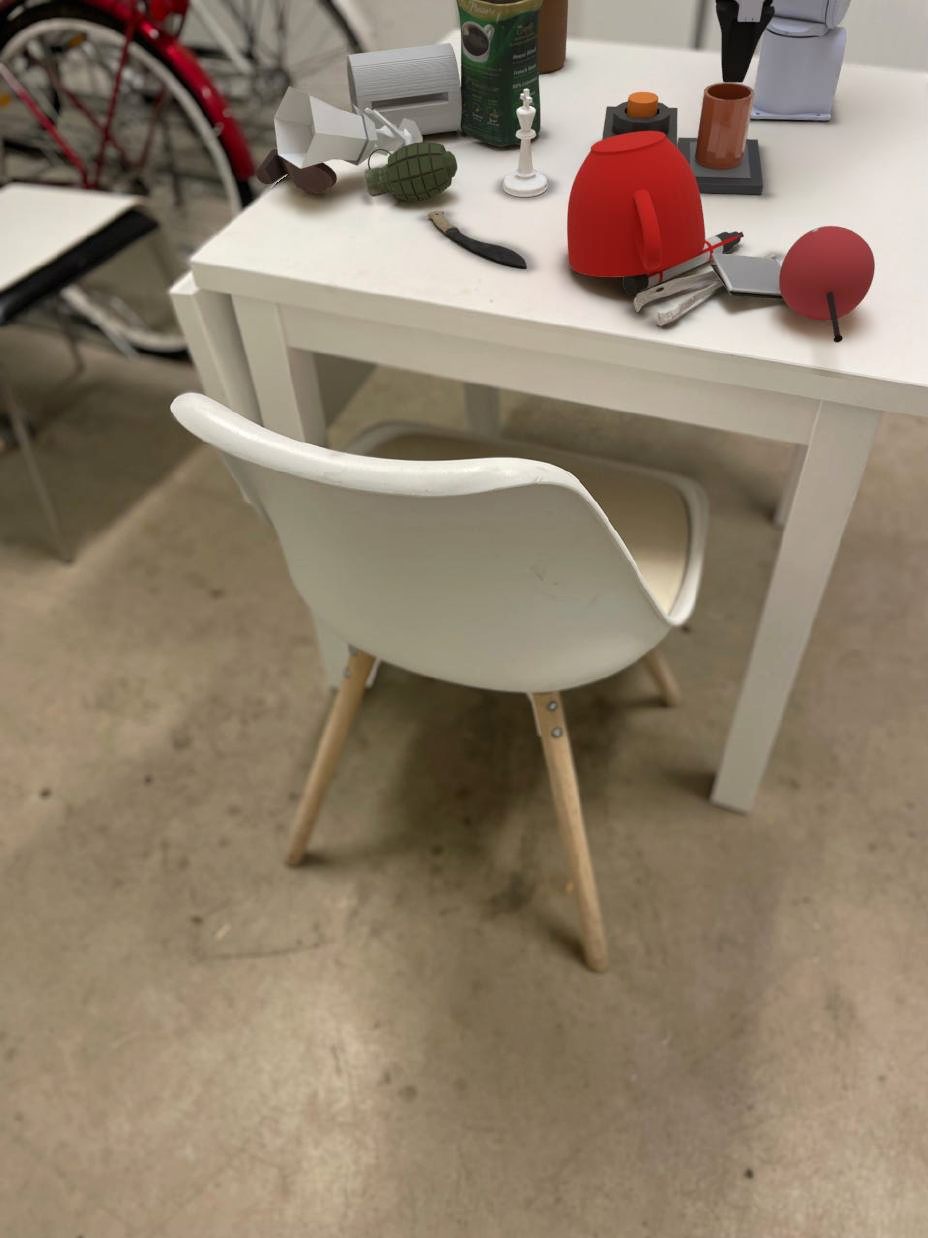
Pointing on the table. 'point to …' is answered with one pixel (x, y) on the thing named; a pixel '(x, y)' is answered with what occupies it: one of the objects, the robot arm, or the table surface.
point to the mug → (552, 35)
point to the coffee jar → (498, 67)
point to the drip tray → (726, 171)
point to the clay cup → (723, 125)
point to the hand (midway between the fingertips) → (732, 77)
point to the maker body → (640, 122)
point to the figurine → (334, 132)
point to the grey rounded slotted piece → (408, 86)
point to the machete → (478, 243)
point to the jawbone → (678, 286)
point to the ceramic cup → (634, 208)
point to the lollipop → (827, 274)
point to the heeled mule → (296, 173)
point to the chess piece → (525, 157)
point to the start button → (642, 105)
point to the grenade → (413, 172)
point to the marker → (712, 245)
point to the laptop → (748, 275)
